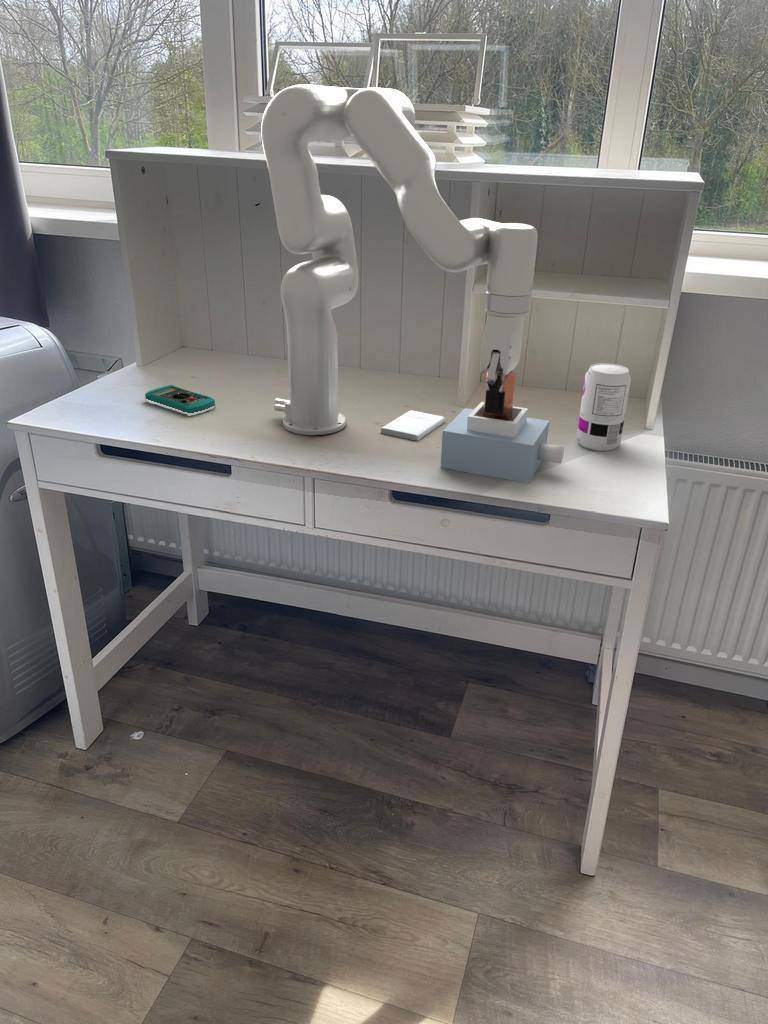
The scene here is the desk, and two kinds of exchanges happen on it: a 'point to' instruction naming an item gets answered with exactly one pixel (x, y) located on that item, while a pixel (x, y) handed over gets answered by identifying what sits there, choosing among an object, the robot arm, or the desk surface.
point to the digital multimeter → (180, 399)
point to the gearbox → (498, 445)
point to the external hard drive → (413, 425)
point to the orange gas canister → (509, 398)
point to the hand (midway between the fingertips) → (498, 406)
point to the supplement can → (603, 406)
